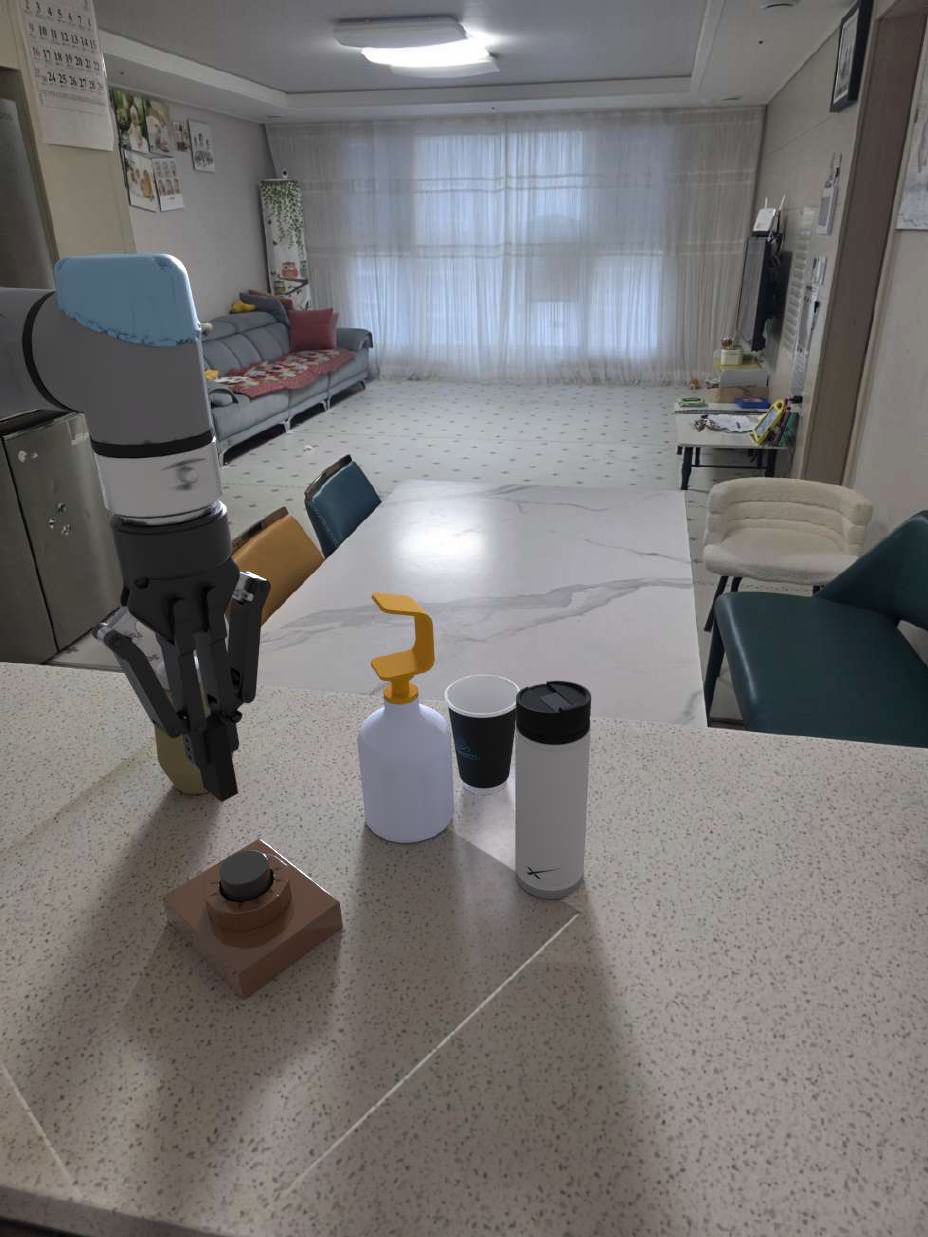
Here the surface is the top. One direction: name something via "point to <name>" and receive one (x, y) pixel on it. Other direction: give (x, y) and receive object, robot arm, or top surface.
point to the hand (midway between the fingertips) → (220, 790)
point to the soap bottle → (406, 742)
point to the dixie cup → (483, 730)
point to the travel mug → (551, 787)
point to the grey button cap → (245, 876)
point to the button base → (253, 922)
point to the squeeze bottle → (178, 747)
